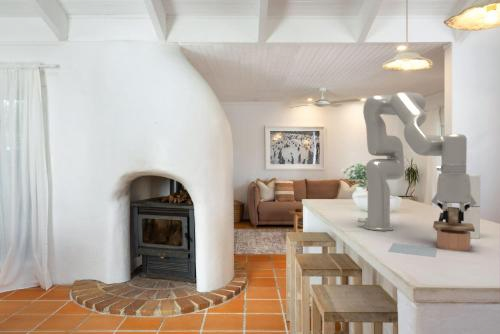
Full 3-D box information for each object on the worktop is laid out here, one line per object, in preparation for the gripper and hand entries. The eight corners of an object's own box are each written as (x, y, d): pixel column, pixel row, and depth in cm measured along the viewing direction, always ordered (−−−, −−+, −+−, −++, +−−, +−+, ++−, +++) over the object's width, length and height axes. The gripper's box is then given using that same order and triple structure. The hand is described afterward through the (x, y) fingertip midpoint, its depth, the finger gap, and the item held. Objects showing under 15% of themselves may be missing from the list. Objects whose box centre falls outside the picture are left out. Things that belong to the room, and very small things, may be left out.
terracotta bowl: (436, 249, 121) (436, 232, 121) (437, 243, 129) (437, 227, 129) (470, 253, 116) (471, 235, 116) (469, 247, 124) (469, 230, 124)
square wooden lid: (433, 228, 120) (433, 208, 120) (434, 223, 131) (434, 204, 131) (474, 231, 114) (474, 210, 114) (472, 225, 125) (472, 206, 125)
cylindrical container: (480, 239, 137) (480, 175, 137) (458, 237, 141) (459, 175, 141) (479, 236, 143) (480, 174, 143) (459, 234, 147) (459, 174, 147)
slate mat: (387, 252, 116) (387, 251, 116) (393, 244, 128) (393, 243, 128) (435, 258, 109) (435, 257, 109) (436, 249, 121) (436, 247, 121)
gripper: (426, 169, 123) (426, 222, 123) (483, 170, 115) (482, 226, 115) (427, 169, 130) (427, 219, 130) (481, 170, 121) (480, 223, 122)
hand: (453, 222), depth 122 cm, fingers closed on square wooden lid, 3 cm apart
